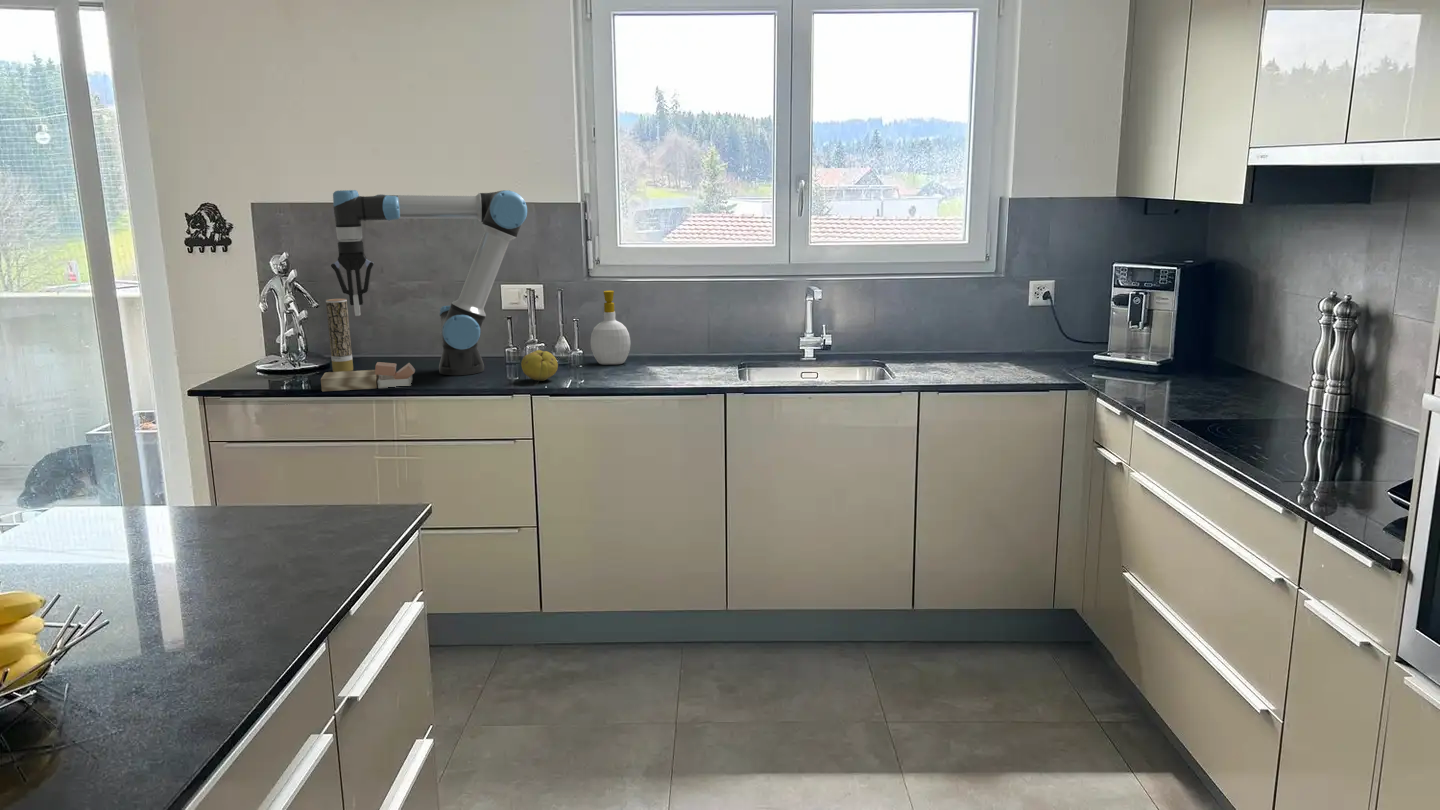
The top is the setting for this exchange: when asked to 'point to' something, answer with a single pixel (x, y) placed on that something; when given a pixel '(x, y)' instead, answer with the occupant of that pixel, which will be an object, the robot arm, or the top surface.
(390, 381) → the tray
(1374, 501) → the top surface
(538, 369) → the fruit
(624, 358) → the soap bottle
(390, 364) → the tile
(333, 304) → the bark textured cylinder
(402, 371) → the tile
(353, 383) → the board
